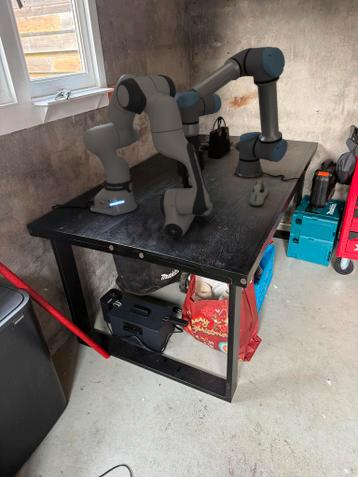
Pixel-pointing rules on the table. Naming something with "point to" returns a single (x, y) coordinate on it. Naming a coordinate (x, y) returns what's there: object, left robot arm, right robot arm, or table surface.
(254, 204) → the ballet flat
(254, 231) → the table surface
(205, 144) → the pair of gloves
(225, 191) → the table surface
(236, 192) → the table surface
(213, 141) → the handbag
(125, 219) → the table surface
